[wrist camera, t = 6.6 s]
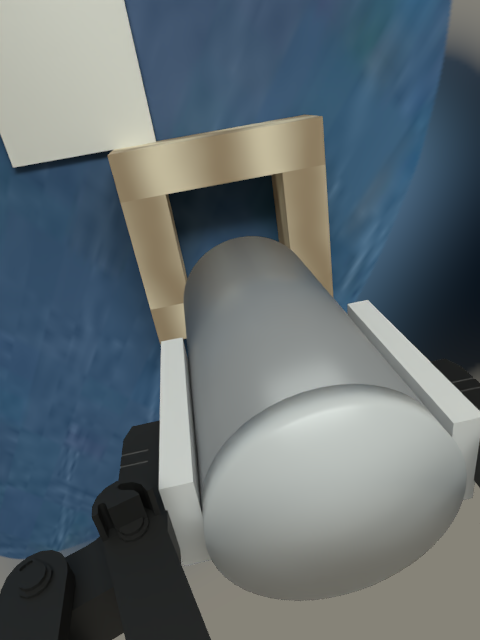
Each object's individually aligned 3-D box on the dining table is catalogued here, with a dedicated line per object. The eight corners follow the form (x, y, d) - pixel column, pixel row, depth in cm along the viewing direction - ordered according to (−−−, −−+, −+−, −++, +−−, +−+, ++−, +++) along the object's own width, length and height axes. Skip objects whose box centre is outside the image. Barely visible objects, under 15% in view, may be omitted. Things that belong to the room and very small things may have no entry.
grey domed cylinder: (196, 365, 21) (227, 623, 11) (170, 250, 19) (177, 445, 8) (314, 341, 22) (454, 567, 11) (306, 224, 19) (481, 379, 9)
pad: (14, 166, 31) (13, 167, 30) (-51, -8, 26) (-54, -9, 26) (156, 141, 31) (156, 141, 31) (116, -34, 26) (115, -36, 26)
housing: (160, 320, 37) (160, 343, 34) (114, 149, 31) (107, 155, 27) (318, 288, 38) (333, 307, 35) (305, 114, 32) (322, 116, 28)
